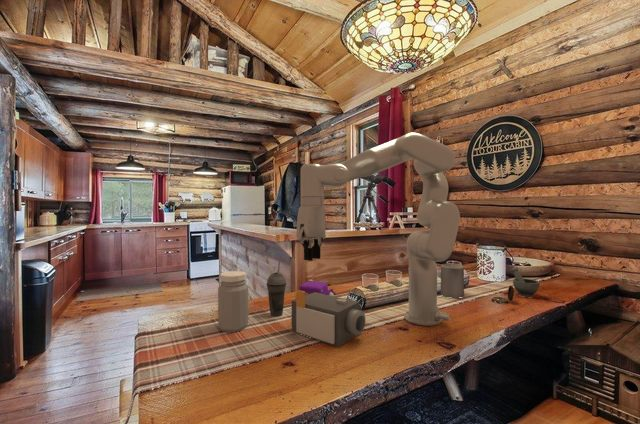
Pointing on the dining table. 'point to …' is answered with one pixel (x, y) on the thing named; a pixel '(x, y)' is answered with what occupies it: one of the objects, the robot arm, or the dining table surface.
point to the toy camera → (316, 288)
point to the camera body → (345, 312)
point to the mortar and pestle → (524, 284)
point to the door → (314, 321)
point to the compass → (503, 300)
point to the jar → (232, 301)
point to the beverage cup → (276, 293)
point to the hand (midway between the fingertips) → (312, 258)
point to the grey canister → (452, 280)
